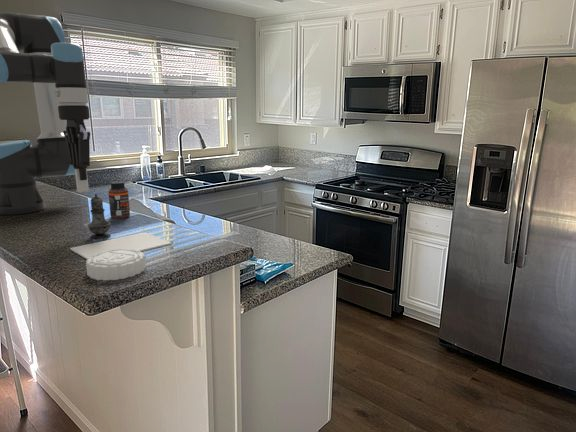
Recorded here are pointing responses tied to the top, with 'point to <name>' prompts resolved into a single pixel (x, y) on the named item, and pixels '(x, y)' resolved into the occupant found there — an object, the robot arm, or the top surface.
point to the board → (121, 244)
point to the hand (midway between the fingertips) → (83, 191)
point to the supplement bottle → (119, 200)
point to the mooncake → (115, 264)
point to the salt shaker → (98, 220)
